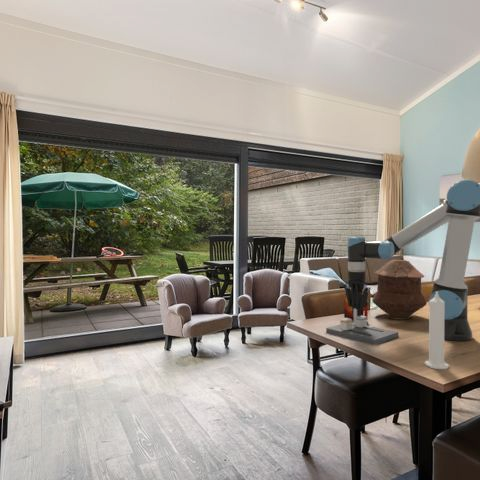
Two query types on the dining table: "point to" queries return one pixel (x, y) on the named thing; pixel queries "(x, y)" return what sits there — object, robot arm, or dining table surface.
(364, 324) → the fader
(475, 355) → the dining table surface
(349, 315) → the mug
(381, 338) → the console
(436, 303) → the candle
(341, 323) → the fader
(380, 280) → the pottery vessel
